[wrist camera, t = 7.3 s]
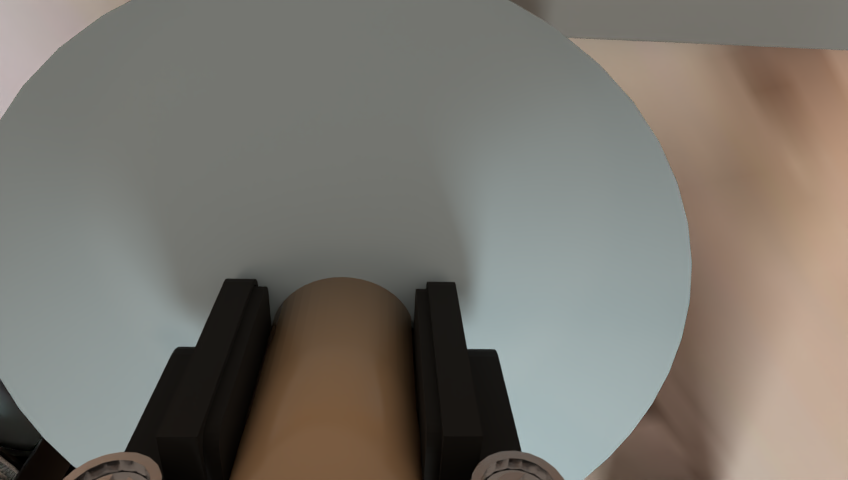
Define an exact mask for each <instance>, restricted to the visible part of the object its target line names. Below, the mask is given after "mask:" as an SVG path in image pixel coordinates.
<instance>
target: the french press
mask: <svg viewBox="0 0 848 480" xmlns="http://www.w3.org/2000/svg"><path fill="white" fill-rule="evenodd" d="M74 469H76V468H75V467H74V466H73V465H72V464H70V463H69V462H68V461H67V460H66V459H65V458H64V457H63V456H62V455H61V454H60V453H59V452H58V451H57V450H56V449H55V448H54V447H53V446H52V445H51V444H49V443H48V442H47V441H46V440H45V439H44V438H43V437H42V438H41V439H40V441H39V442H38V444H37V445H36V447H35V448H34V450H33V451H24V450H17V449H10V448H6V447H2V446H0V480H63V479H64V478H65V477H66V476H67V475H69V474H70V473H71V472H72V471H73V470H74Z"/></svg>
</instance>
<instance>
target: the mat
mask: <svg viewBox="0 0 848 480" xmlns="http://www.w3.org/2000/svg"><path fill="white" fill-rule="evenodd" d="M511 1H512V2H514V3H516V4H517V5H519V6H521V7H522V8H524V9H526V10H527V11H529V12H531V13H532V14H534V15H536V16H537V17H539V18H541V19H542V20H544V21H546V22H547V23H548V24H550V25H551V26H553V27H554V28H555V29H557V30H558V31H559V32H560V33H562V34H563V35H564V36H565V37H567V38H586V39H608V40H631V41H653V42H675V43H697V44H720V45H742V46H764V47H786V48H809V49H831V50H848V0H511Z"/></svg>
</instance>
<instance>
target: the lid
mask: <svg viewBox="0 0 848 480" xmlns="http://www.w3.org/2000/svg"><path fill="white" fill-rule="evenodd" d="M691 270H692V259H691V249H690V239H689V229H688V222H687V218H686V214H685V210H684V206H683V203H682V199H681V195H680V191H679V187H678V184H677V181H676V179H675V176H674V174H673V172H672V170H671V167H670V165H669V163H668V161H667V158H666V156H665V154H664V152H663V149H662V147H661V145H660V143H659V141H658V139H657V138H656V136H655V135H654V133H653V132H652V130H651V129H650V127H649V125H648V124H647V122H646V121H645V119H644V118H643V116H642V115H641V113H640V112H639V110H638V109H637V107H636V105H635V104H634V102H633V101H632V100H631V99H630V98H629V97H628V96H627V95H626V93H625V92H624V91H623V90H622V89H621V88H620V87H619V86H618V85H617V83H616V82H615V81H614V80H613V79H612V78H611V77H610V76H609V75H608V73H607V72H606V71H605V70H604V69H603V68H602V67H601V66H600V65H599V64H598V63H597V62H596V61H595V60H593V59H592V58H591V57H590V56H589V55H587V54H586V53H585V52H584V51H582V50H581V49H580V48H579V47H578V46H576V45H575V44H574V43H573V42H571V41H570V40H569V39H568V38H567V37H565V36H564V35H563V34H562V33H560V32H559V31H558V30H557V29H555V28H554V27H553V26H551V25H550V24H548V23H547V22H546V21H544V20H542V19H541V18H539V17H537V16H536V15H534V14H532V13H531V12H529V11H527V10H526V9H524V8H522V7H521V6H519V5H517V4H516V3H514V2H512V1H511V0H131V1H129V2H127V3H125V4H124V5H122V6H120V7H118V8H116V9H114V10H112V11H110V12H108V13H106V14H104V15H103V16H101V17H100V18H99V19H97V20H96V21H95V22H93V23H92V24H91V25H89V26H88V27H87V28H85V29H84V30H83V31H81V32H80V33H78V34H77V35H76V36H74V37H73V38H72V39H70V40H69V41H68V42H66V43H65V44H64V45H62V46H61V47H60V48H59V49H58V50H57V51H56V52H55V53H54V54H53V55H52V56H51V57H50V58H49V59H48V60H47V61H46V62H45V63H44V64H43V65H42V66H41V67H40V69H39V70H38V71H37V72H36V73H35V74H34V75H33V76H32V77H31V78H30V79H29V80H28V81H27V82H26V83H25V84H24V85H23V87H22V88H21V90H20V91H19V93H18V94H17V96H16V97H15V99H14V100H13V102H12V103H11V105H10V106H9V108H8V109H7V111H6V112H5V114H4V115H3V117H2V118H1V120H0V379H1V381H2V382H3V384H4V385H5V387H6V389H7V390H8V392H9V393H10V395H11V396H12V398H13V400H14V401H15V403H16V404H17V406H18V407H19V409H20V410H21V411H22V412H23V414H24V415H25V416H26V417H27V418H28V420H29V421H30V422H31V423H32V424H33V426H34V427H35V428H36V429H37V430H38V432H39V433H40V434H41V435H42V437H43V438H44V439H45V440H46V441H47V442H48V443H49V444H51V445H52V446H53V447H54V448H55V449H56V450H57V451H58V452H59V453H60V454H61V455H62V456H63V457H64V458H65V459H66V460H67V461H68V462H69V463H70V464H72V465H73V466H74V467H75V468H78V467H79V466H81V465H83V464H84V463H86V462H88V461H90V460H92V459H95V458H98V457H100V456H103V455H106V454H112V453H118V452H124V451H125V449H126V447H127V445H128V443H129V441H130V439H131V437H132V435H133V433H134V431H135V429H136V427H137V425H138V422H139V420H140V418H141V416H142V414H143V412H144V410H145V408H146V406H147V404H148V402H149V400H150V398H151V396H152V394H153V391H154V389H155V387H156V385H157V383H158V381H159V379H160V377H161V375H162V373H163V371H164V369H165V367H166V365H167V363H168V360H169V358H170V356H171V354H172V353H173V351H174V350H175V348H177V347H195V346H196V344H197V342H198V339H199V337H200V335H201V333H202V330H203V328H204V326H205V323H206V321H207V319H208V317H209V314H210V312H211V310H212V307H213V305H214V303H215V301H216V298H217V296H218V294H219V292H220V289H221V287H222V285H223V282H224V281H225V279H227V278H231V279H256V280H257V282H258V286H261V287H267V288H268V292H269V303H270V316H271V330H270V334H269V337H268V341H267V344H266V348H265V352H264V355H263V359H262V362H261V366H260V370H259V373H258V377H257V381H256V384H255V388H254V391H253V395H252V399H251V402H250V406H249V409H248V413H247V417H246V420H245V424H244V428H243V431H242V435H241V438H240V442H239V446H238V449H237V453H236V456H235V460H234V464H233V467H232V471H231V475H230V478H229V480H423V479H422V463H421V446H420V429H419V412H418V395H417V378H416V362H415V345H414V310H415V292H416V289H426V284H427V282H455V284H456V289H457V294H458V300H459V306H460V311H461V317H462V322H463V328H464V334H465V339H466V345H467V349H495V350H496V351H497V354H498V357H499V361H500V365H501V369H502V373H503V377H504V381H505V385H506V389H507V393H508V397H509V402H510V406H511V410H512V414H513V418H514V422H515V426H516V430H517V434H518V438H519V442H520V446H521V451H522V452H526V453H530V454H532V455H535V456H537V457H540V458H542V459H544V460H545V461H546V462H548V463H549V464H551V465H552V466H553V467H555V468H556V470H557V471H558V472H559V473H560V475H561V476H562V477H563V478H564V480H583V479H585V478H586V477H587V476H588V475H589V474H590V473H592V472H593V471H594V470H595V469H596V468H597V467H599V466H600V465H601V464H602V463H603V462H604V461H605V460H607V459H608V458H609V457H610V455H611V454H612V453H613V452H614V451H615V450H616V449H617V448H618V447H619V446H620V445H621V444H622V442H623V441H624V440H625V439H626V438H627V437H628V436H629V435H630V434H631V433H632V431H633V430H634V428H635V427H636V426H637V424H638V423H639V422H640V420H641V419H642V417H643V416H644V415H645V413H646V412H647V410H648V409H649V408H650V406H651V405H652V403H653V401H654V399H655V398H656V396H657V394H658V392H659V390H660V388H661V387H662V385H663V383H664V381H665V379H666V377H667V375H668V374H669V371H670V369H671V366H672V363H673V361H674V358H675V355H676V353H677V350H678V347H679V344H680V342H681V339H682V335H683V330H684V326H685V321H686V316H687V312H688V307H689V302H690V287H691Z"/></svg>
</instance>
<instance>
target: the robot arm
mask: <svg viewBox="0 0 848 480" xmlns="http://www.w3.org/2000/svg"><path fill="white" fill-rule="evenodd" d="M270 330H271V316H270V303H269V292H268V288H267V287H261V286H258V282H257V280H256V279H231V278H227V279H225V281H224V282H223V285H222V287H221V289H220V292H219V294H218V296H217V298H216V301H215V303H214V305H213V307H212V310H211V312H210V314H209V317H208V319H207V321H206V323H205V326H204V328H203V330H202V333H201V335H200V337H199V339H198V342H197V344H196V346H195V347H177V348H175V350H174V351H173V353H172V354H171V356H170V358H169V360H168V363H167V365H166V367H165V369H164V371H163V373H162V375H161V377H160V379H159V381H158V383H157V385H156V387H155V389H154V391H153V394H152V396H151V398H150V400H149V402H148V404H147V406H146V408H145V410H144V412H143V414H142V416H141V418H140V420H139V422H138V425H137V427H136V429H135V431H134V433H133V435H132V437H131V439H130V441H129V443H128V445H127V447H126V449H125V451H124V452H118V453H112V454H106V455H103V456H100V457H98V458H95V459H92V460H90V461H88V462H86V463H84V464H83V465H81V466H79V467H78V468H76V469H74V470H73V471H72V472H71V473H70V474H69V475H67V476H66V477H65V478H64V479H63V480H229V478H230V475H231V471H232V467H233V464H234V460H235V456H236V453H237V449H238V446H239V442H240V438H241V435H242V431H243V428H244V424H245V420H246V417H247V413H248V409H249V406H250V402H251V399H252V395H253V391H254V388H255V384H256V381H257V377H258V373H259V370H260V366H261V362H262V359H263V355H264V352H265V348H266V344H267V341H268V337H269V334H270ZM414 345H415V362H416V378H417V395H418V412H419V429H420V446H421V463H422V479H423V480H564V478H563V477H562V476H561V475H560V473H559V472H558V471H557V470H556V468H555V467H553V466H552V465H551V464H549V463H548V462H546V461H545V460H544V459H542V458H540V457H537V456H535V455H532V454H530V453H526V452H522V451H521V446H520V442H519V438H518V434H517V430H516V426H515V422H514V418H513V414H512V410H511V406H510V402H509V397H508V393H507V389H506V385H505V381H504V377H503V373H502V369H501V365H500V361H499V357H498V354H497V351H496V350H495V349H467V345H466V339H465V334H464V328H463V322H462V317H461V311H460V306H459V300H458V294H457V289H456V284H455V282H427V284H426V289H416V292H415V310H414Z"/></svg>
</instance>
